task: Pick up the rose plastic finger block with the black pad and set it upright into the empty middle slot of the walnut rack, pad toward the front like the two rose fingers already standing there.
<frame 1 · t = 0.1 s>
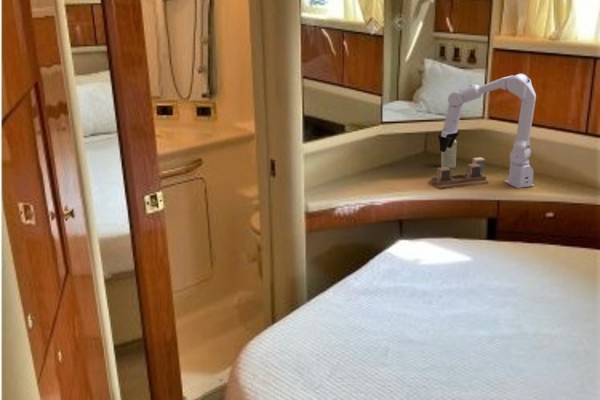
hand: (445, 149, 254), 11 cm above the table, tool pointing down, fingers open, 7 cm apart
skincare box: (447, 166, 266), on the table
walnut rack: (458, 182, 243), on the table
rose finger: (477, 171, 257), on the table
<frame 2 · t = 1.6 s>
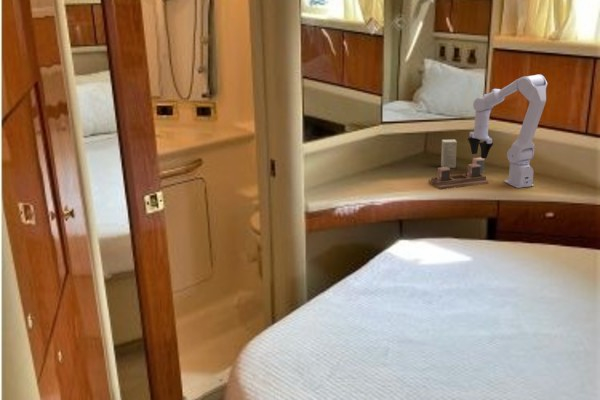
hand: (479, 156, 255), 7 cm above the table, tool pointing down, fingers open, 7 cm apart
nothing on the table moved.
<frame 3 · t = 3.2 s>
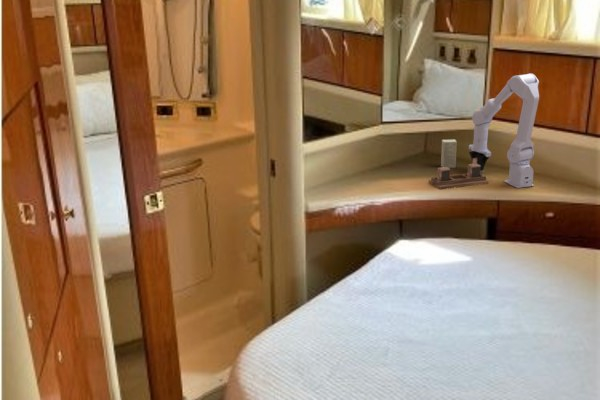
hand: (478, 168, 257), 1 cm above the table, tool pointing down, fingers closed on rose finger, 3 cm apart
rose finger: (477, 171, 257), on the table, touching gripper
everything else where it was.
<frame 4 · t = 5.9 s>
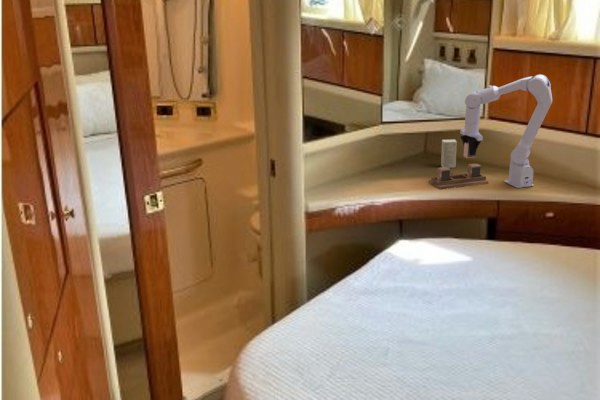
hand: (469, 153, 247), 10 cm above the table, tool pointing down, fingers closed on rose finger, 3 cm apart
rose finger: (469, 157, 247), point 9 cm above the table, touching gripper
everything else where it was.
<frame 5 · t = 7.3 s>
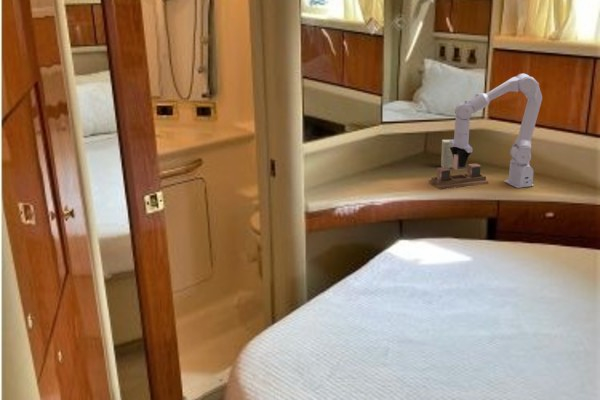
hand: (459, 165, 241), 8 cm above the table, tool pointing down, fingers closed on rose finger, 3 cm apart
rose finger: (459, 168, 241), point 6 cm above the table, touching gripper
everything else where it was.
when the fingers open (3 cm above the table, at t = 8.5 s): rose finger stays where it is, resting on walnut rack.
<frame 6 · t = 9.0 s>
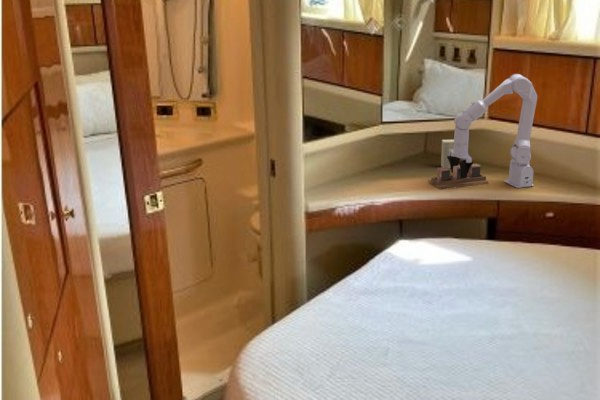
hand: (458, 175, 242), 3 cm above the table, tool pointing down, fingers open, 7 cm apart
rose finger: (458, 180, 243), point 1 cm above the table, touching walnut rack
everything else where it was.
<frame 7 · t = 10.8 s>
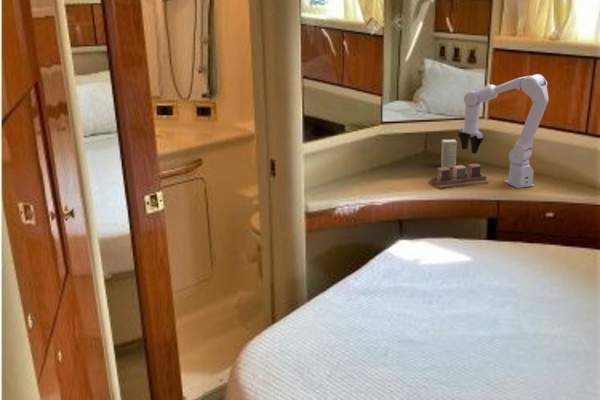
hand: (469, 151, 251), 10 cm above the table, tool pointing down, fingers open, 7 cm apart
nothing on the table moved.
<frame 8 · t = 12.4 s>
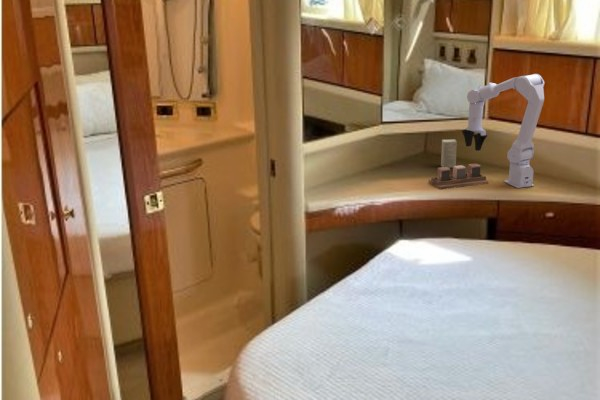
hand: (473, 148, 255), 10 cm above the table, tool pointing down, fingers open, 7 cm apart
nothing on the table moved.
at the end: rose finger 0.1 cm off-centre on the walnut rack, point 1.0 cm above the walnut rack's base; rose finger tilted 0°; the gripper is holding nothing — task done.
